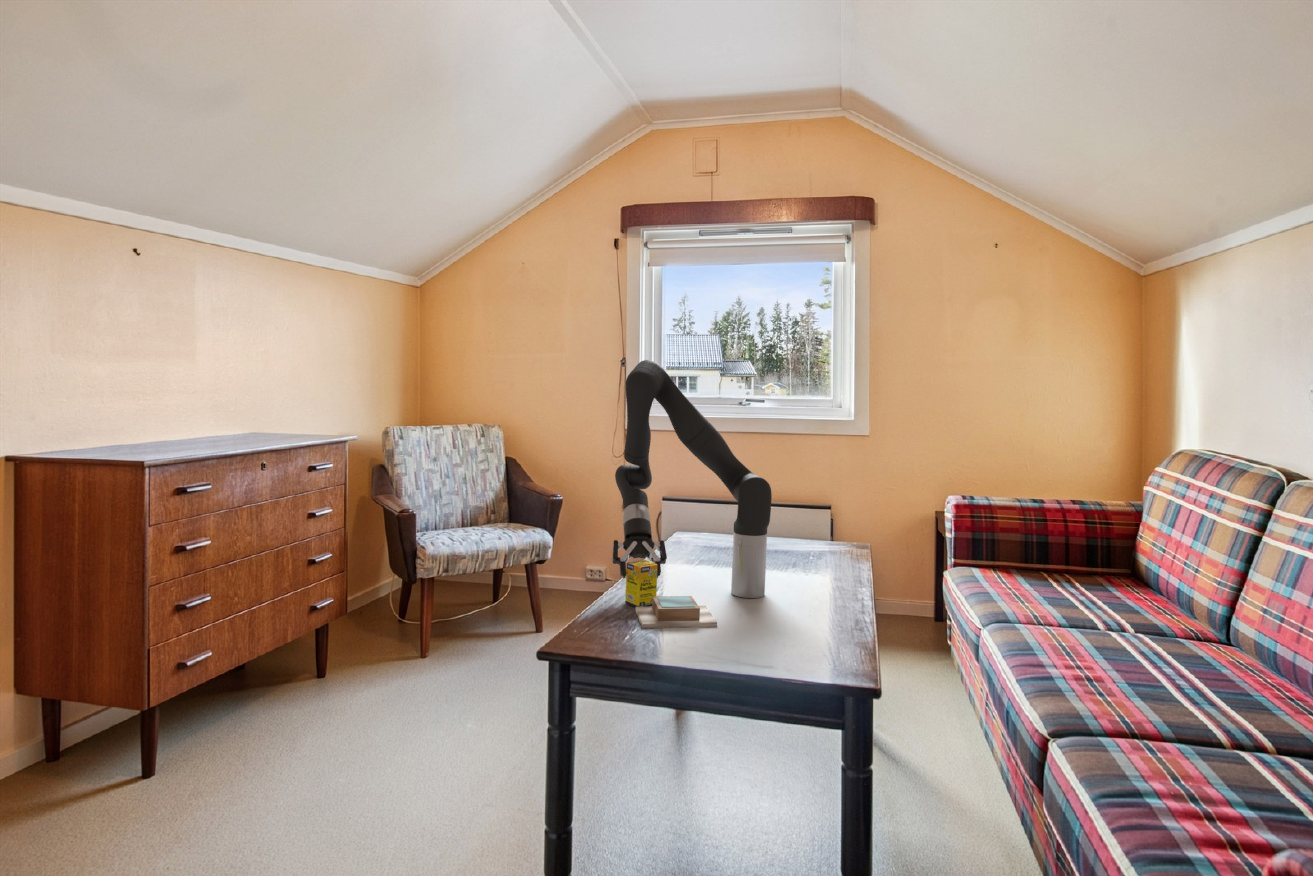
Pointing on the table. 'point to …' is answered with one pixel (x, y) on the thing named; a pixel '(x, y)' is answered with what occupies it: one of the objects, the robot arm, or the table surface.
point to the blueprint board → (654, 623)
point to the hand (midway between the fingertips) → (640, 576)
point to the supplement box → (641, 583)
